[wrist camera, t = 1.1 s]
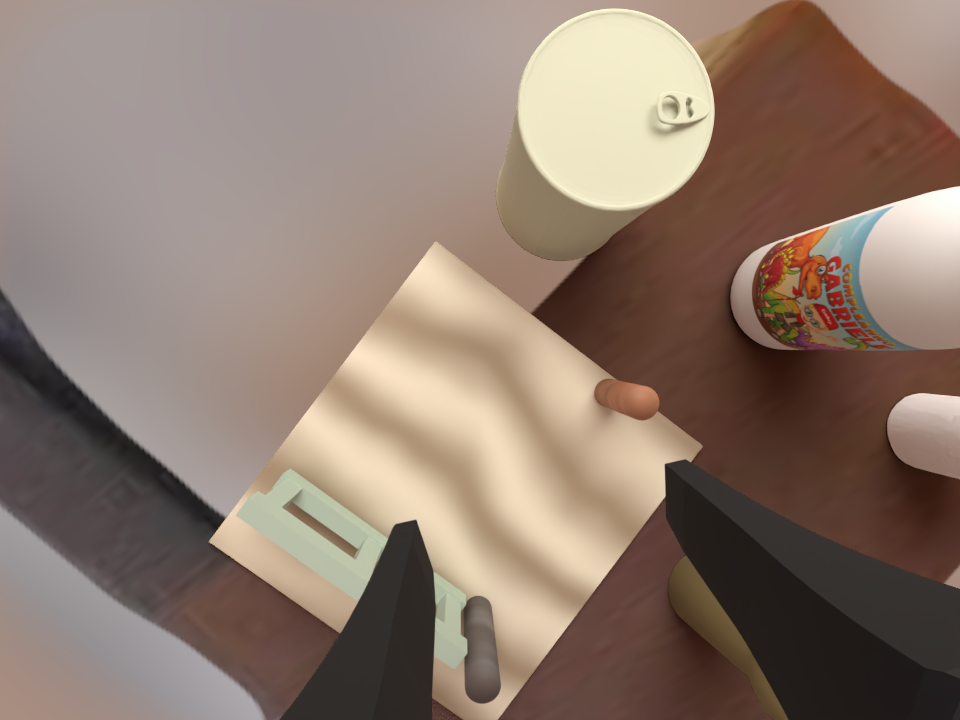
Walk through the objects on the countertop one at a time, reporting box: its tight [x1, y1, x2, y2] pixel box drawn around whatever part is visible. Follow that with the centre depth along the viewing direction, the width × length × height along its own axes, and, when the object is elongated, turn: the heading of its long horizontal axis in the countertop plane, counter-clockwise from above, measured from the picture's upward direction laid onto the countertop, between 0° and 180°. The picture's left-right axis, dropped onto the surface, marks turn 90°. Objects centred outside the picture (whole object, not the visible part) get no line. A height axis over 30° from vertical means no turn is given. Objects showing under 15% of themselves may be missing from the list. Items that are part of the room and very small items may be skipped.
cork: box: [668, 556, 788, 720], centre depth 28 cm, size 6×6×11 cm
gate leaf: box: [236, 468, 467, 670], centre depth 28 cm, size 15×1×6 cm, turn 53°
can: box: [496, 9, 714, 261], centre depth 26 cm, size 9×9×12 cm
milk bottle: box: [730, 187, 960, 350], centre depth 23 cm, size 8×8×20 cm
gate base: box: [209, 241, 703, 720], centre depth 28 cm, size 26×24×8 cm
